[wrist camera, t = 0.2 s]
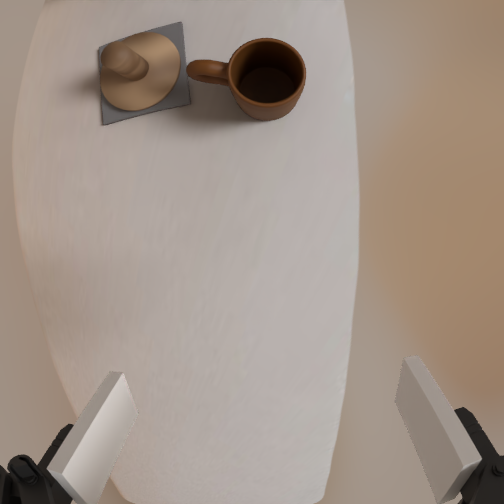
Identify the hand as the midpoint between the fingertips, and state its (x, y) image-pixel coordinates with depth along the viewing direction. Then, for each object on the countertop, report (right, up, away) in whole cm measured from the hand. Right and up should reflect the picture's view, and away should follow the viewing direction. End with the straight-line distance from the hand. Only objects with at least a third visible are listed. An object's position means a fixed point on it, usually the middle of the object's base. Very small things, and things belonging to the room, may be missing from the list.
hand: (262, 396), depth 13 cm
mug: (-1, +26, +22) cm, 34 cm away
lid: (-15, +29, +20) cm, 39 cm away
